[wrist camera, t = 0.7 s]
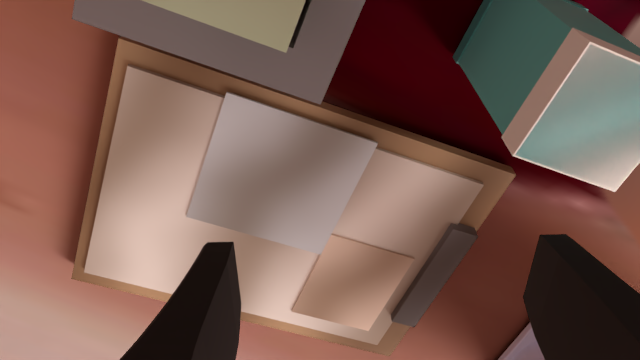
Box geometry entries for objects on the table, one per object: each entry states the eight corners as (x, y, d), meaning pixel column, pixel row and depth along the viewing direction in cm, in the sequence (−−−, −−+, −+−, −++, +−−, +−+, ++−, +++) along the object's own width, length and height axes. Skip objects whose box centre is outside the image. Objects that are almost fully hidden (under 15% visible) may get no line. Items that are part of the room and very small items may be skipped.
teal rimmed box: (581, 4, 19) (701, 88, 13) (528, 86, 21) (615, 192, 15) (500, -31, 19) (590, 41, 13) (452, 56, 20) (512, 155, 14)
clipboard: (511, 167, 23) (521, 183, 22) (388, 347, 29) (391, 366, 28) (123, 32, 19) (113, 44, 18) (76, 269, 26) (66, 288, 25)
